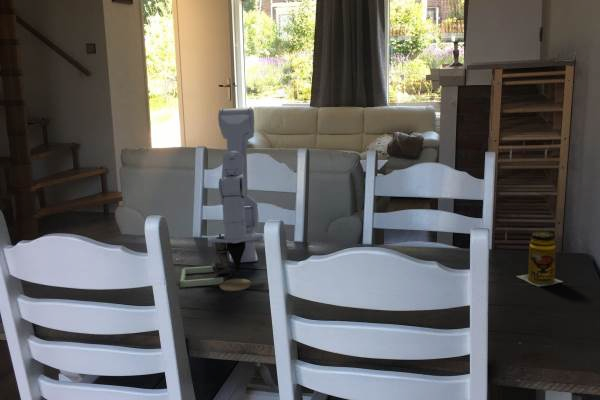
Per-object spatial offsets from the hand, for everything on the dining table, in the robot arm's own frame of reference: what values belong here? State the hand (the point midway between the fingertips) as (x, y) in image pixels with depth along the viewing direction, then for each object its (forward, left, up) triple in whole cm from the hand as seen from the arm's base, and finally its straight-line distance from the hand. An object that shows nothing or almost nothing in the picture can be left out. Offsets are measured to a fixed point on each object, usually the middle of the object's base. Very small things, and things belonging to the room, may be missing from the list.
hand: (237, 269), depth 163 cm
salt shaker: (0, -4, -2) cm, 4 cm away
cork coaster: (+8, -1, -2) cm, 8 cm away
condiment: (+22, +74, -2) cm, 77 cm away
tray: (0, -9, -2) cm, 9 cm away
